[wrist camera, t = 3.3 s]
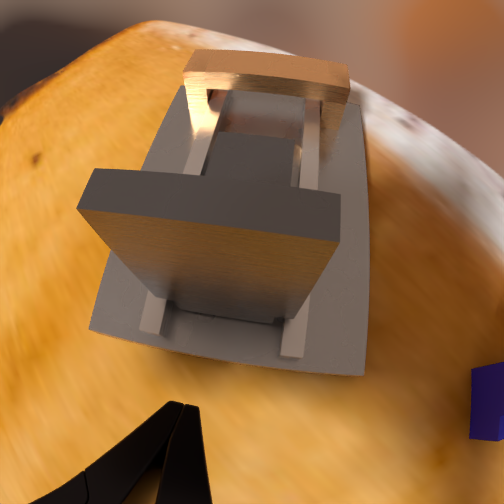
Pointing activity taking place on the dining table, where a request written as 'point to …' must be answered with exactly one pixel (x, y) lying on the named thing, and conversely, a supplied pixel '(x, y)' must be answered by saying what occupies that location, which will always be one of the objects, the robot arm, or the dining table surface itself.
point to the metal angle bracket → (220, 229)
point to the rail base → (303, 176)
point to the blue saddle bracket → (487, 403)
